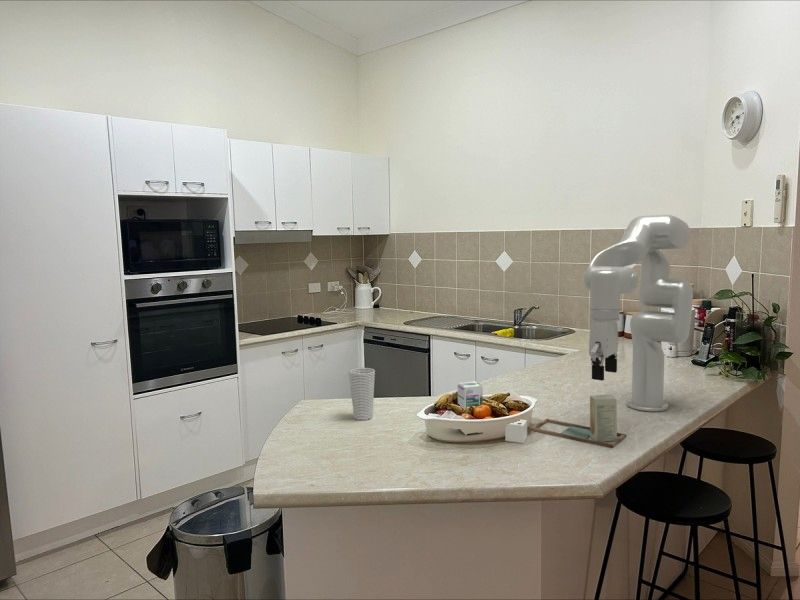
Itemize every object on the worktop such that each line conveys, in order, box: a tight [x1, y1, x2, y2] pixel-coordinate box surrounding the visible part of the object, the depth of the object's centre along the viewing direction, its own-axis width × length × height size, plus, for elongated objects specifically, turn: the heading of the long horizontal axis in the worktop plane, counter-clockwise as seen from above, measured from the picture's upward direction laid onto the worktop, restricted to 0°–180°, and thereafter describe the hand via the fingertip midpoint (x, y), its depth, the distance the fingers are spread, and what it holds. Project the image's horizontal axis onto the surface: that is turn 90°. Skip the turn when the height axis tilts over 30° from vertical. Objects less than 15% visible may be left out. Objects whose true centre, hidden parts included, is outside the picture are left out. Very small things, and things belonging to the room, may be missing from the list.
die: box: [504, 419, 528, 444], centre depth 163 cm, size 5×5×5 cm
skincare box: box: [589, 394, 618, 442], centre depth 161 cm, size 6×4×12 cm
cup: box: [348, 367, 376, 421], centre depth 186 cm, size 8×8×16 cm
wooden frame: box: [530, 418, 627, 449], centre depth 167 cm, size 11×24×1 cm, turn 50°
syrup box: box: [456, 380, 484, 409], centre depth 170 cm, size 6×6×14 cm
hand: (604, 375), depth 160 cm, fingers open, 9 cm apart
